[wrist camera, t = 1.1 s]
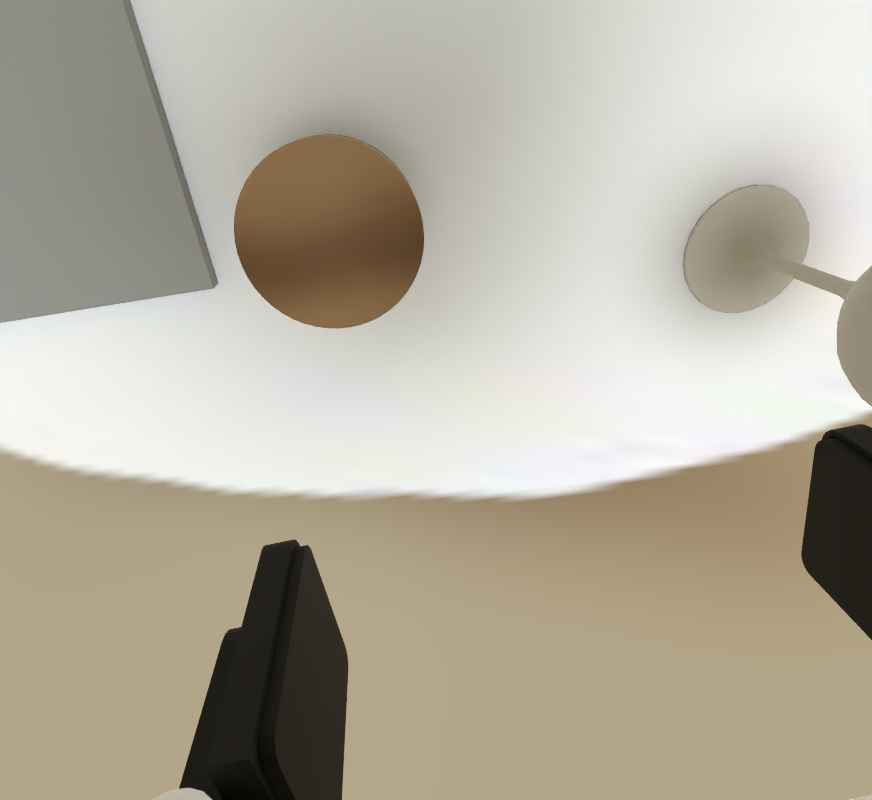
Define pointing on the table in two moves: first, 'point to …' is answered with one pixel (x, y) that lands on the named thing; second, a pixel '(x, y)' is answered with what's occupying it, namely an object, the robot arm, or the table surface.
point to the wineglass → (774, 268)
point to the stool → (329, 231)
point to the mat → (87, 166)
